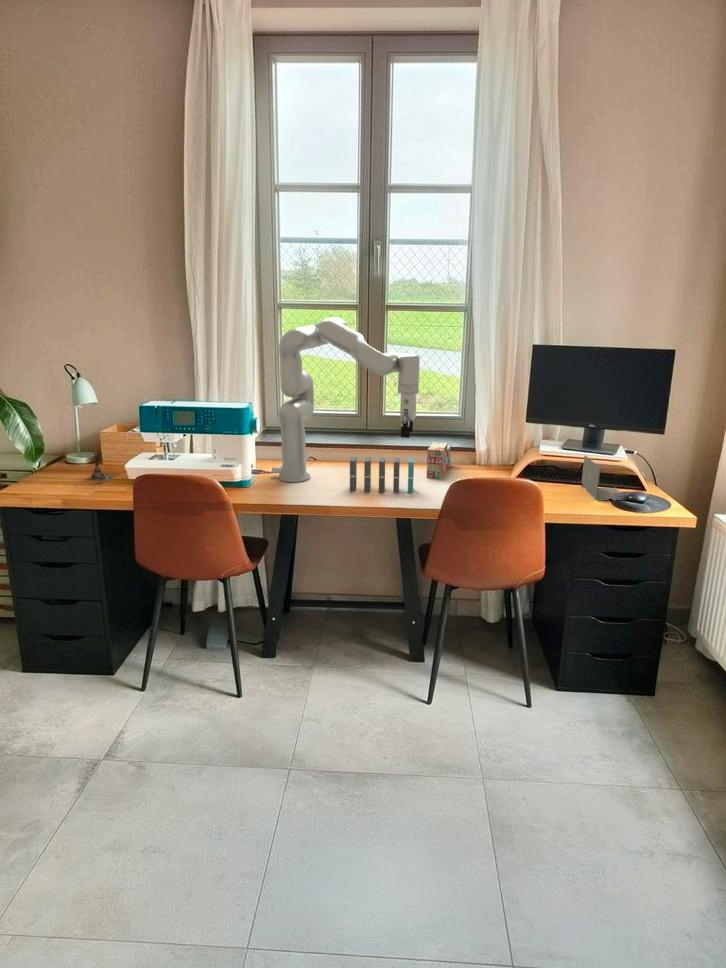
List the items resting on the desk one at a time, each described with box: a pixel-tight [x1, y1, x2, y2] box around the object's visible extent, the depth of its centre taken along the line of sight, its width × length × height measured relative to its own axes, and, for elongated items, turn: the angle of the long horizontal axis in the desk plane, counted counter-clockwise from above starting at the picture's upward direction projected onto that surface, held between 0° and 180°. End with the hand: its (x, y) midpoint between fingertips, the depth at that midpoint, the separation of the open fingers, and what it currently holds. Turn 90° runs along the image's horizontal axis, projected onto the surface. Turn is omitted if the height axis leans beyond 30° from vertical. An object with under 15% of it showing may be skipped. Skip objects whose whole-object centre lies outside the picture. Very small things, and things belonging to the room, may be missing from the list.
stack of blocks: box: [426, 441, 452, 480], centre depth 277 cm, size 21×6×12 cm, turn 163°
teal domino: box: [407, 457, 415, 494], centre depth 251 cm, size 2×6×12 cm, turn 175°
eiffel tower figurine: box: [90, 449, 118, 485], centre depth 264 cm, size 15×10×13 cm
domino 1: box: [349, 456, 358, 493], centre depth 252 cm, size 2×6×12 cm, turn 175°
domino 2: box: [363, 456, 372, 493], centre depth 252 cm, size 2×6×12 cm, turn 175°
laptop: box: [581, 455, 622, 502], centre depth 249 cm, size 18×12×13 cm
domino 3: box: [378, 457, 386, 493], centre depth 252 cm, size 2×6×12 cm, turn 175°
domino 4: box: [392, 457, 401, 494], centre depth 251 cm, size 2×6×12 cm, turn 175°
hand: (406, 434), depth 246 cm, fingers open, 9 cm apart
